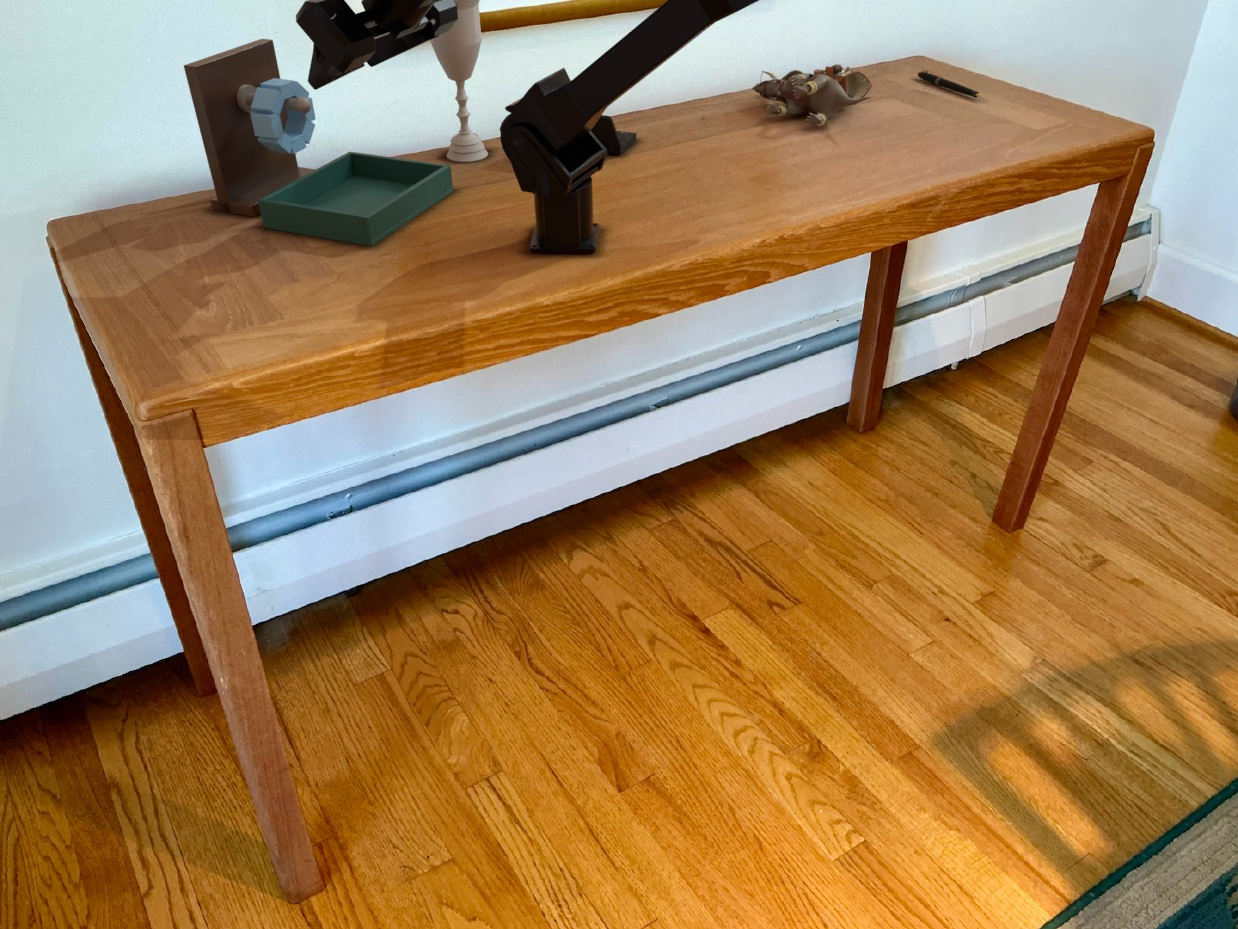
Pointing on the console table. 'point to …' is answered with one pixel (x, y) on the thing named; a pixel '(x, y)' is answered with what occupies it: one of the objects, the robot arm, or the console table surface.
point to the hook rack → (240, 126)
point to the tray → (357, 198)
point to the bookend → (612, 136)
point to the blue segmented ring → (269, 120)
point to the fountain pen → (947, 83)
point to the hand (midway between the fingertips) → (341, 73)
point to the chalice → (462, 74)
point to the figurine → (815, 92)
